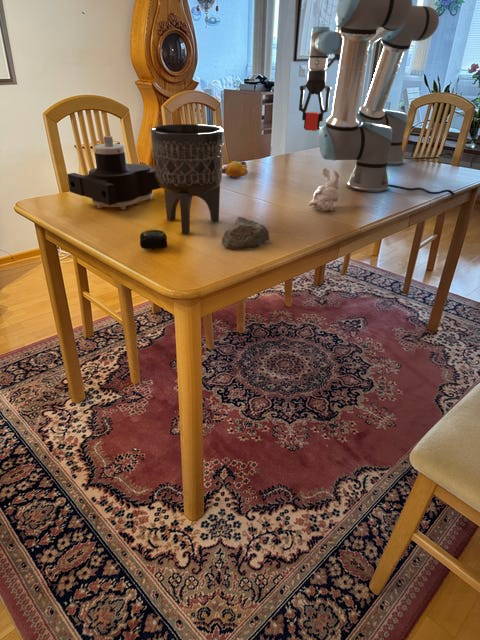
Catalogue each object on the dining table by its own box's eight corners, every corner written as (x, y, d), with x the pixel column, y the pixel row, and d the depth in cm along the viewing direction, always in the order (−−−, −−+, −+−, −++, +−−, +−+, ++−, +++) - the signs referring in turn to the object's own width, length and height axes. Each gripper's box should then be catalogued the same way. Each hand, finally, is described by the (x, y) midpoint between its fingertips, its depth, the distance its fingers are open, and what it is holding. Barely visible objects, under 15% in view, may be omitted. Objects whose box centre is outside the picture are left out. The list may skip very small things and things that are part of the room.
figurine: (343, 205, 155) (348, 167, 148) (324, 216, 144) (329, 175, 137) (322, 201, 158) (326, 164, 152) (302, 211, 148) (305, 171, 141)
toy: (216, 169, 183) (223, 161, 196) (222, 185, 186) (228, 175, 199) (242, 161, 180) (247, 153, 193) (247, 176, 183) (252, 167, 196)
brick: (306, 128, 207) (308, 111, 204) (318, 129, 206) (319, 112, 202) (304, 130, 203) (306, 112, 199) (316, 130, 201) (318, 113, 198)
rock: (255, 233, 128) (256, 211, 124) (276, 242, 122) (278, 219, 119) (217, 244, 120) (217, 220, 117) (239, 254, 115) (239, 230, 111)
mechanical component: (60, 135, 140) (138, 127, 160) (72, 203, 151) (143, 187, 171) (101, 144, 128) (180, 134, 148) (111, 217, 139) (183, 198, 159)
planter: (143, 226, 132) (134, 128, 119) (187, 210, 146) (183, 122, 133) (195, 240, 123) (191, 136, 109) (236, 222, 137) (238, 128, 123)
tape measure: (140, 252, 115) (139, 238, 113) (141, 242, 120) (140, 229, 119) (167, 251, 116) (166, 237, 114) (167, 241, 121) (166, 228, 120)
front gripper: (294, 69, 191) (290, 128, 203) (338, 70, 187) (331, 131, 199) (297, 69, 197) (292, 126, 209) (339, 70, 193) (333, 128, 205)
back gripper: (317, 37, 220) (312, 86, 231) (369, 38, 215) (362, 88, 225) (318, 38, 226) (314, 85, 237) (370, 38, 221) (363, 87, 232)
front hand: (311, 128), depth 204 cm, fingers closed on brick, 5 cm apart
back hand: (338, 87), depth 231 cm, fingers open, 13 cm apart
